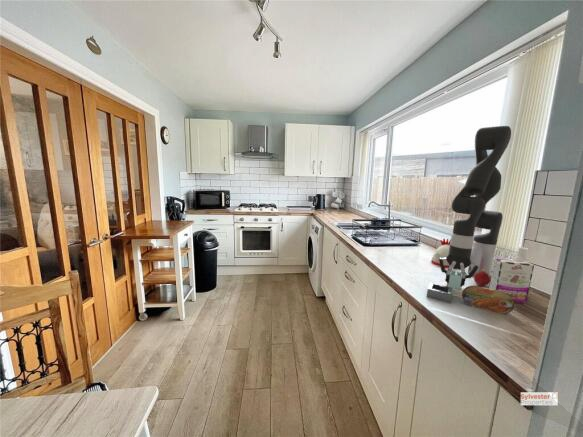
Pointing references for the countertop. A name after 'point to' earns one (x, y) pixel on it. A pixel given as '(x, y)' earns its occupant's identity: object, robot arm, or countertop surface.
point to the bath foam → (522, 254)
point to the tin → (488, 299)
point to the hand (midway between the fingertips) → (454, 284)
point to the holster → (455, 291)
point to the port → (439, 292)
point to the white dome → (441, 253)
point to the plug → (455, 280)
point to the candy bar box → (512, 278)
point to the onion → (482, 278)
